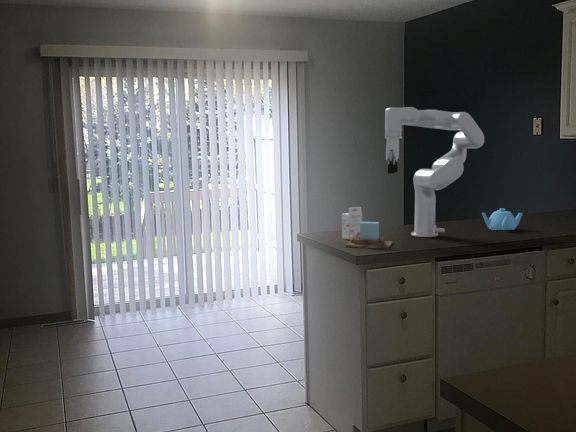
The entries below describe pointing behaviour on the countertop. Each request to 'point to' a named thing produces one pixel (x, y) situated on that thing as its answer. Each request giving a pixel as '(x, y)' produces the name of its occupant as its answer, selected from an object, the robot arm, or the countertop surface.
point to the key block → (369, 230)
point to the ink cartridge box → (351, 223)
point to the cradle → (368, 243)
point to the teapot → (502, 220)
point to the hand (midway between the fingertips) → (392, 172)
